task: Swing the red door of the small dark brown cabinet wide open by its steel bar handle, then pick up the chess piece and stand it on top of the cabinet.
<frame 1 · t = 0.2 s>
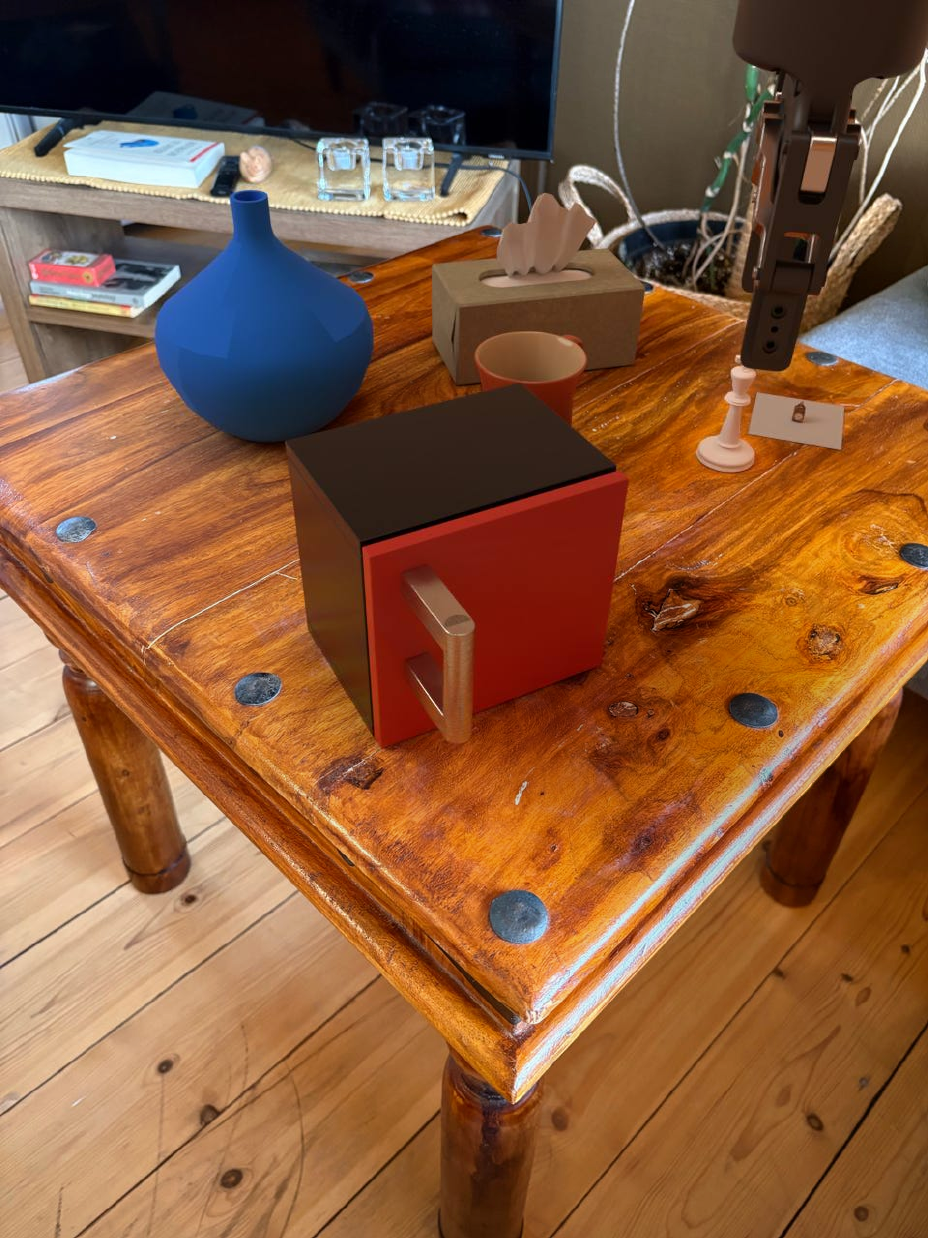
hand: (762, 326, 48), 25 cm above the table, tool pointing down, fingers open, 8 cm apart
dark brown cabinet: (447, 642, 67), on the table
chess piece: (724, 458, 85), on the table
grey square plate: (796, 421, 90), on the table
door: (522, 643, 56), point 7 cm above the table, hinge at 0.0°
mug: (533, 461, 85), on the table
tissue box: (531, 355, 99), on the table
vase: (276, 416, 90), on the table
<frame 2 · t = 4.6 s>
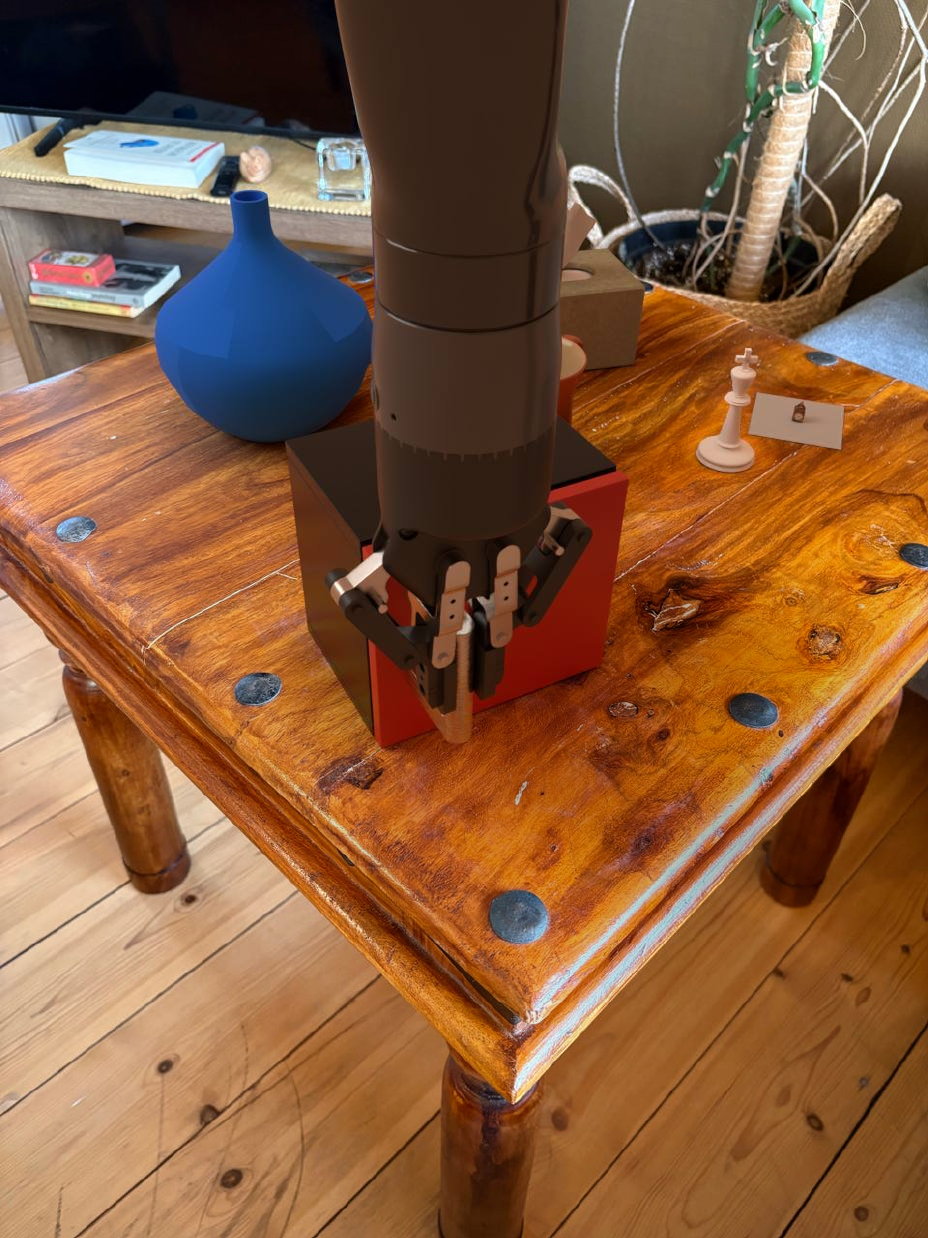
hand: (460, 694, 52), 9 cm above the table, tool pointing down, fingers closed on door
door: (522, 643, 56), point 7 cm above the table, hinge at 0.0°, touching gripper
everything else where it was.
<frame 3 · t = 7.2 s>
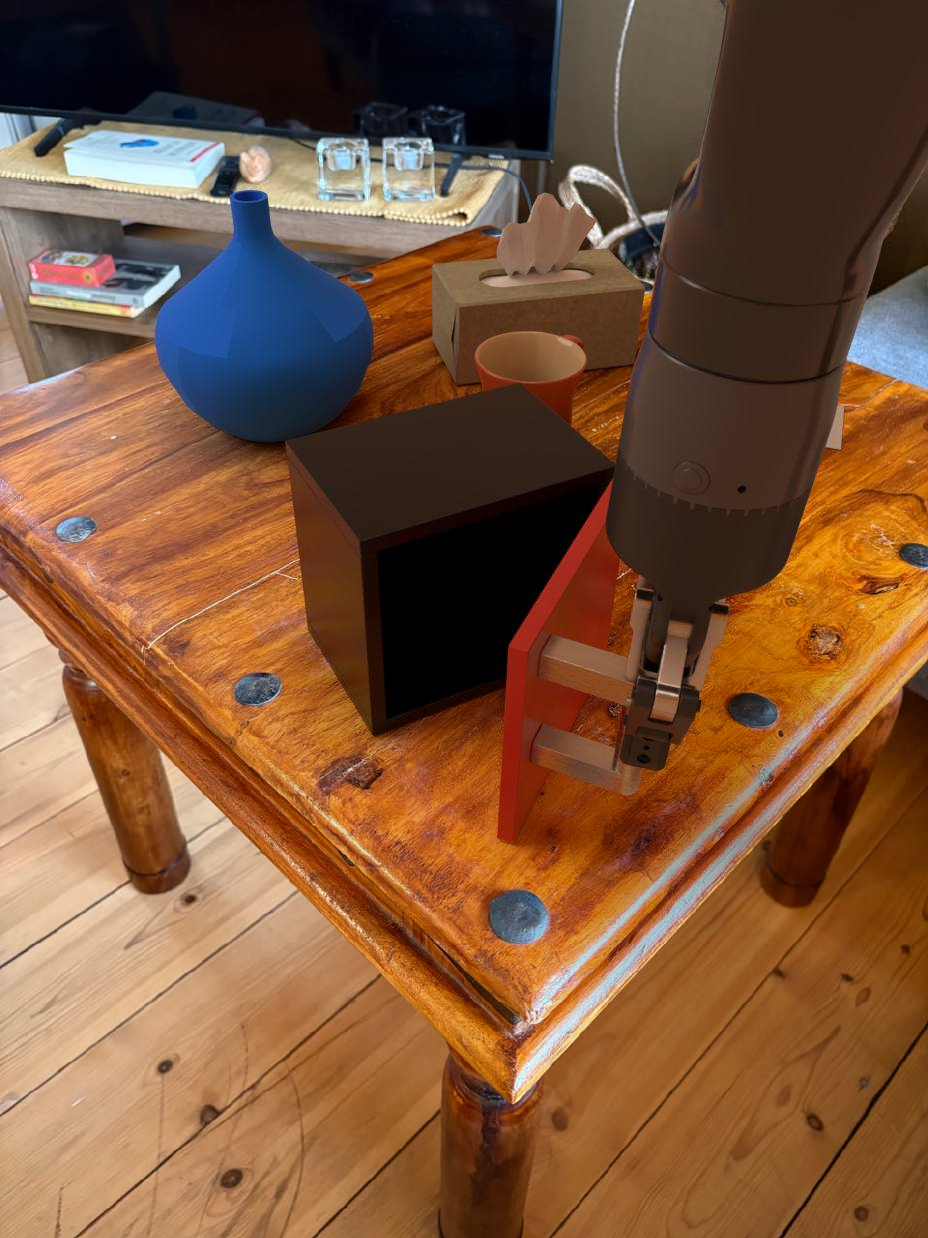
hand: (644, 743, 49), 9 cm above the table, tool pointing down, fingers closed on door, 2 cm apart
door: (614, 671, 55), point 7 cm above the table, hinge at 37.6°, touching gripper
everything else where it was.
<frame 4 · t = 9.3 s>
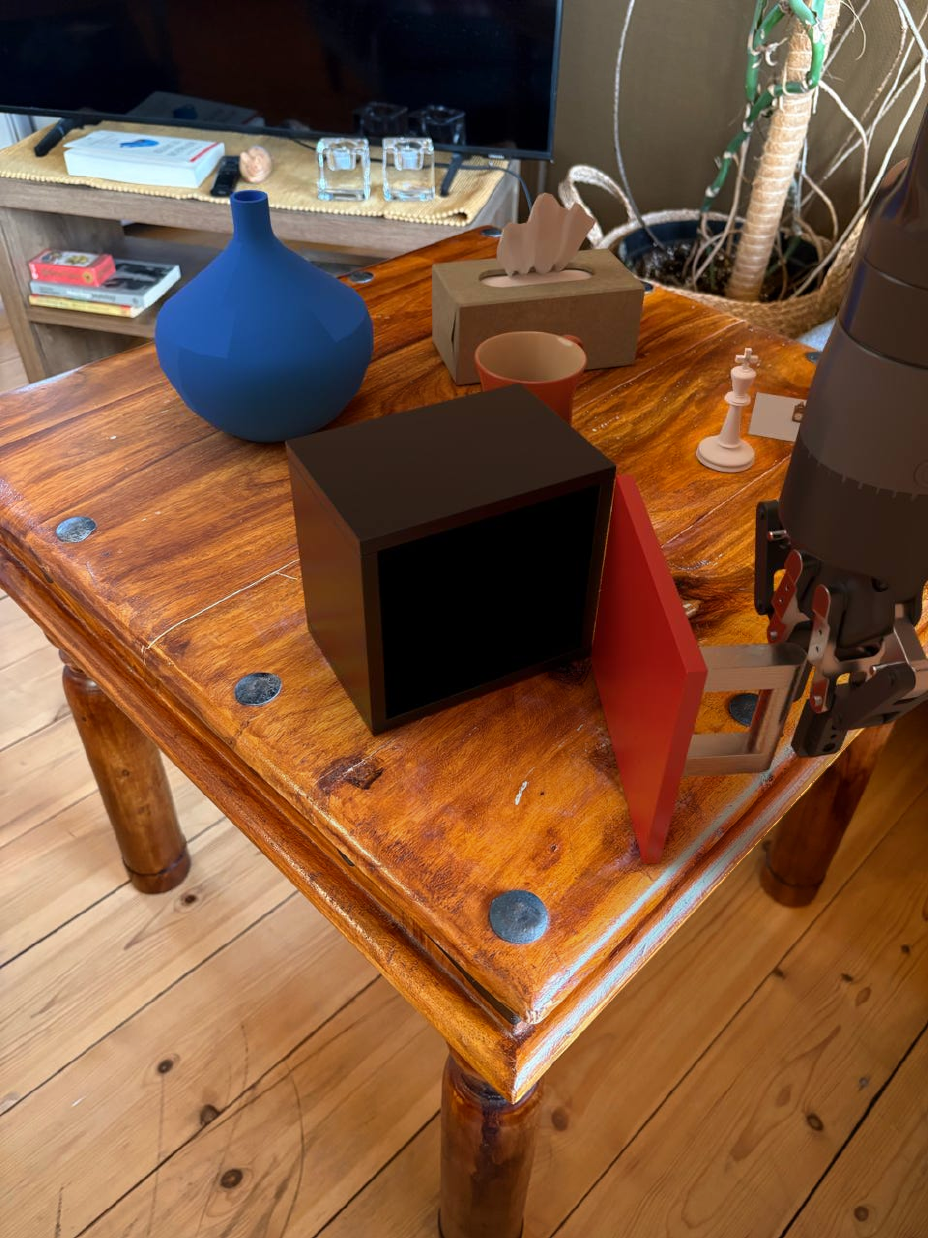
hand: (794, 723, 51), 8 cm above the table, tool pointing down, fingers open, 3 cm apart
door: (688, 662, 55), point 7 cm above the table, hinge at 66.9°
everything else where it was.
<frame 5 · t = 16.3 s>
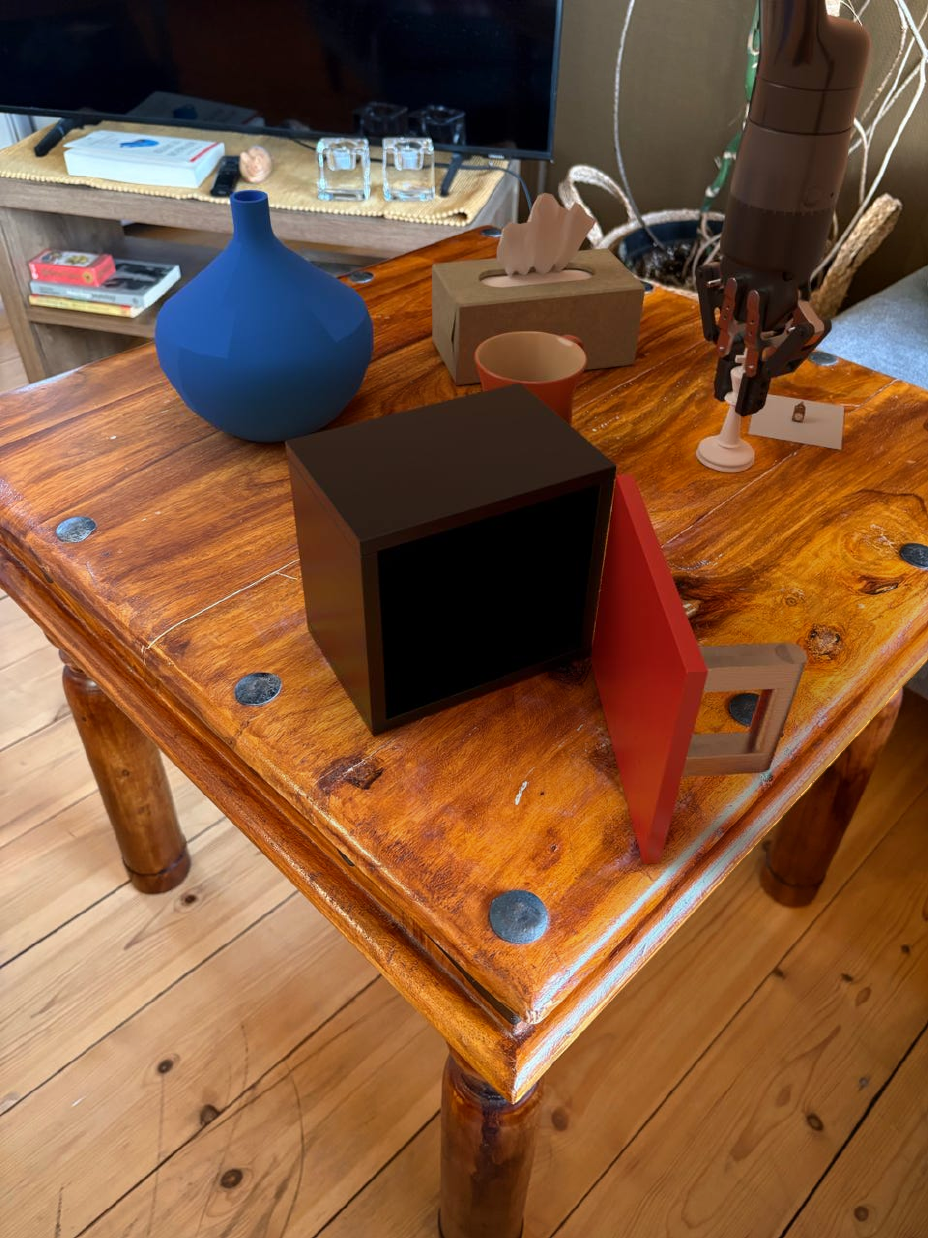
hand: (736, 404, 82), 5 cm above the table, tool pointing down, fingers closed on chess piece
chess piece: (724, 458, 85), on the table, touching gripper
everything else where it was.
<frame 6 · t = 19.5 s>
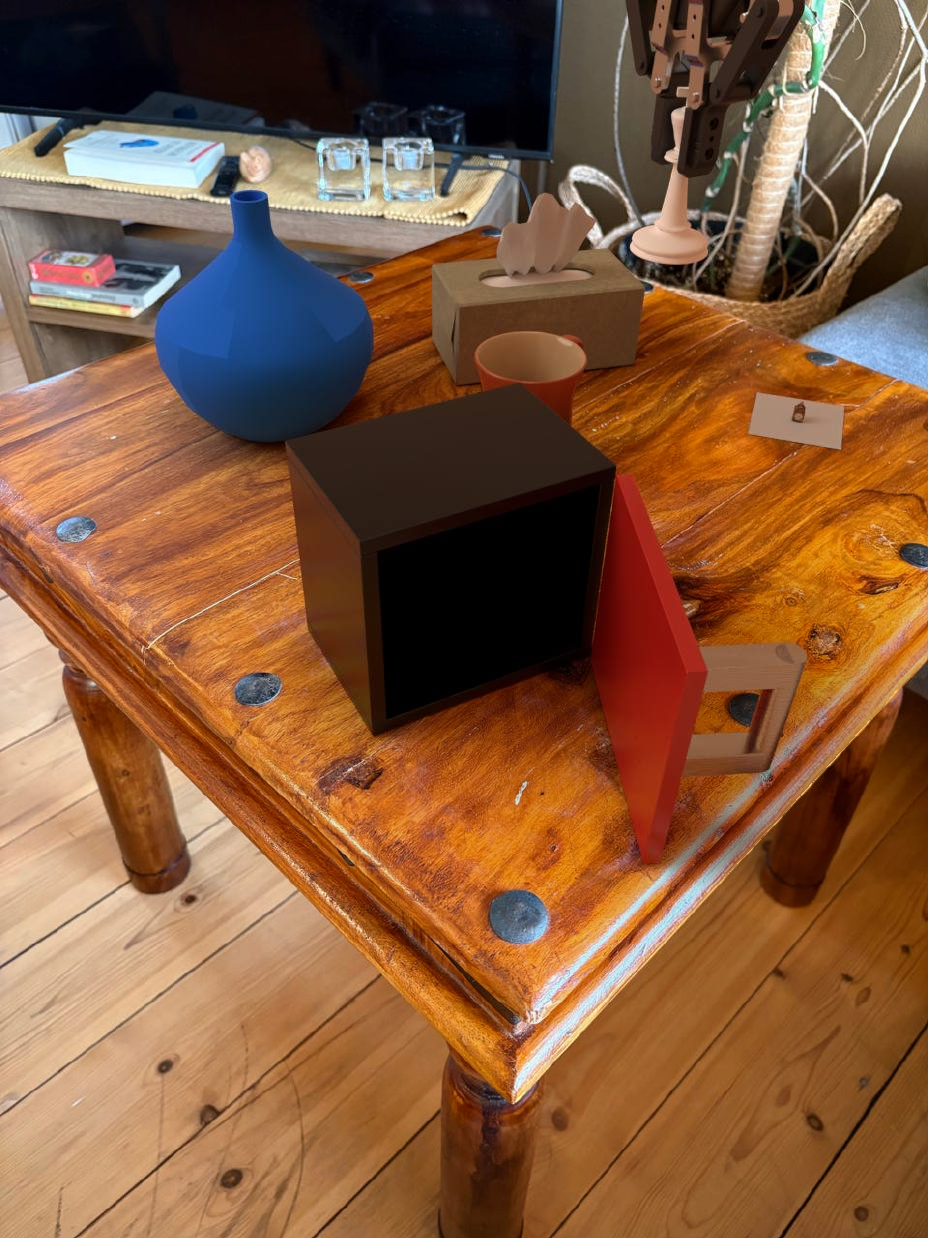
hand: (680, 166, 60), 27 cm above the table, tool pointing down, fingers closed on chess piece
chess piece: (668, 252, 63), point 21 cm above the table, touching gripper
everything else where it was.
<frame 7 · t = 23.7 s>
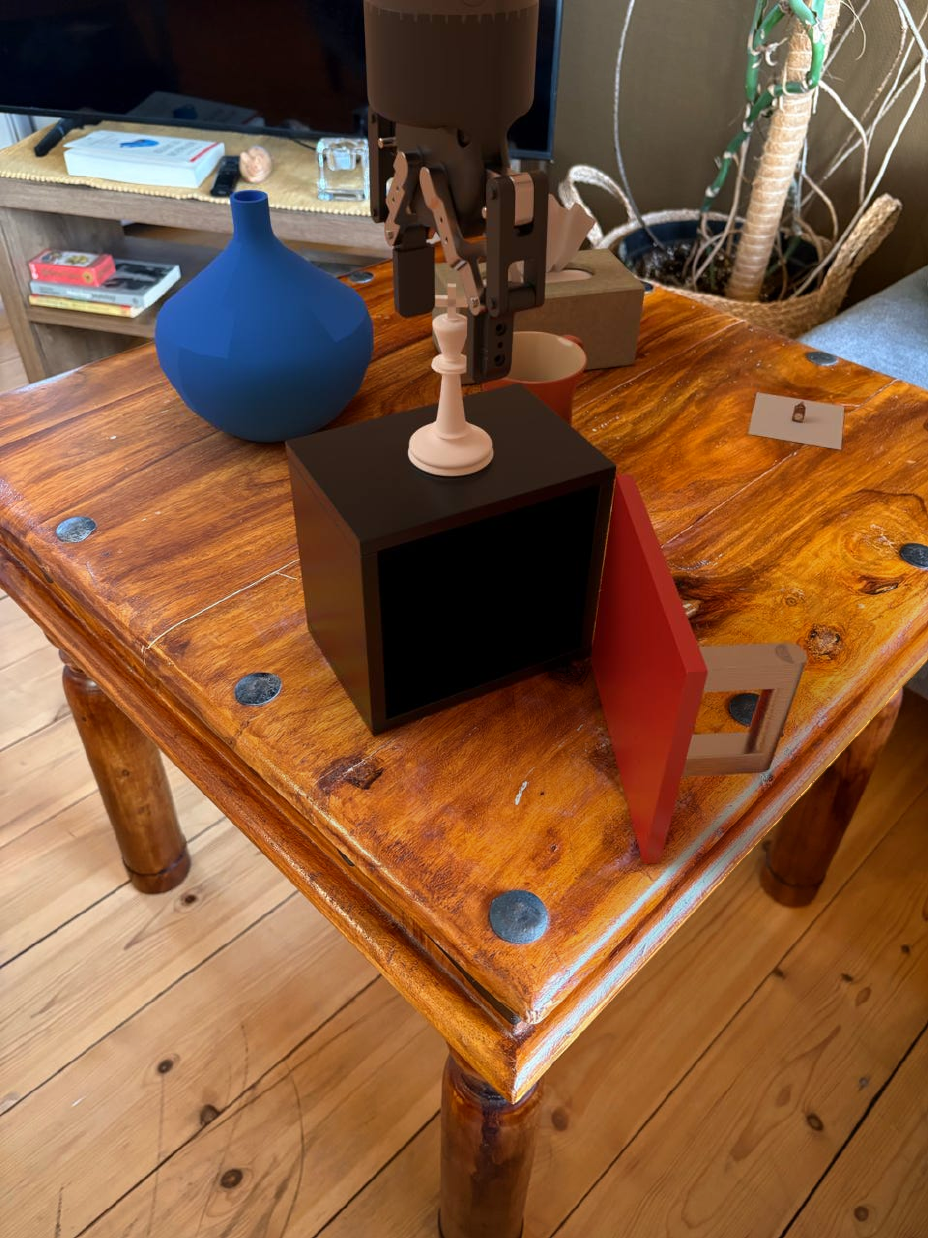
hand: (449, 343, 53), 22 cm above the table, tool pointing down, fingers open, 8 cm apart
chess piece: (450, 456, 57), point 15 cm above the table, touching dark brown cabinet
everything else where it was.
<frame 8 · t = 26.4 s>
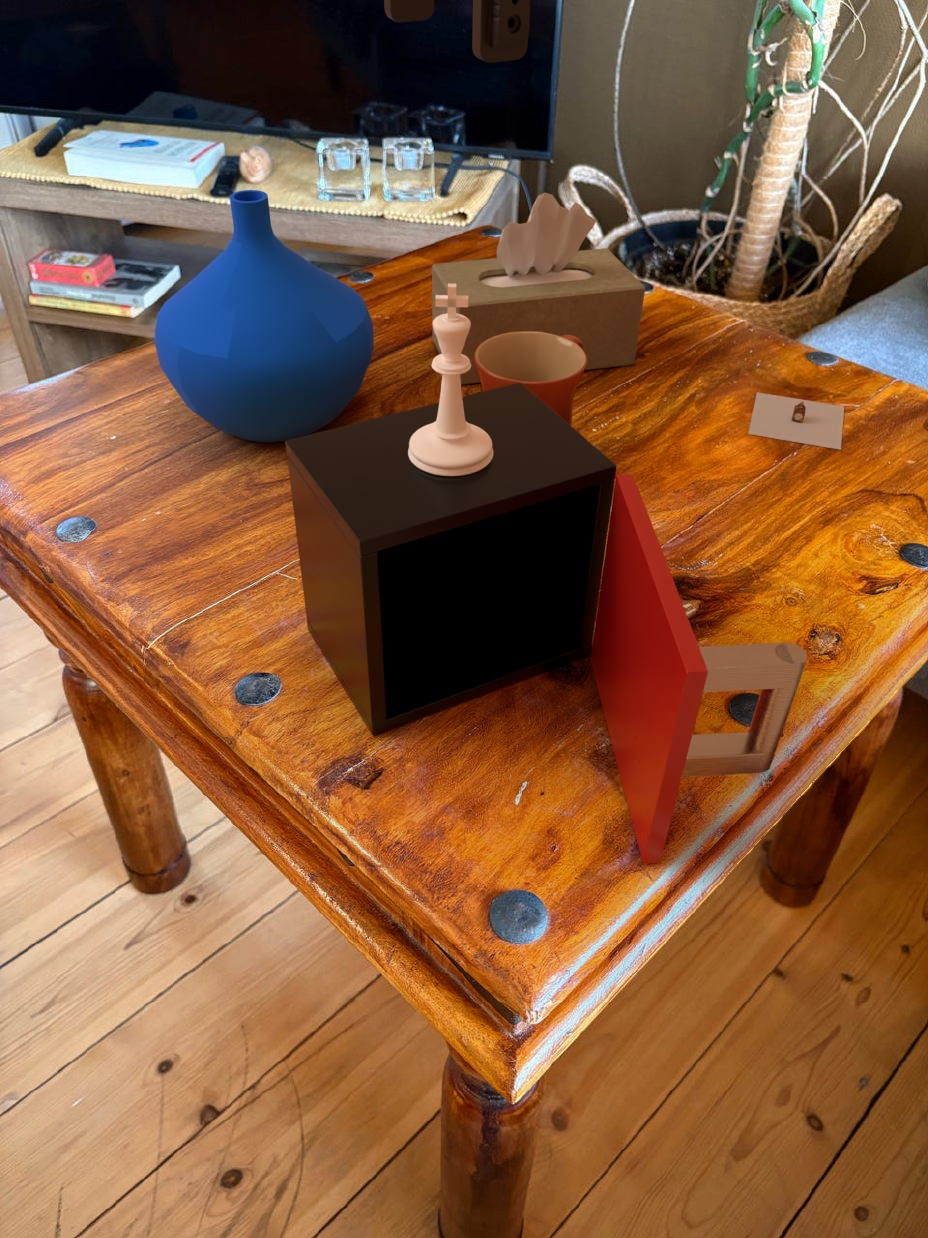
hand: (451, 38, 43), 36 cm above the table, tool pointing down, fingers open, 8 cm apart
nothing on the table moved.
at the end: door at +67° (first picture: +0°); chess piece inside the target area on the dark brown cabinet (0.1 cm from its centre), point 14.8 cm above the dark brown cabinet's base; chess piece tilted 0° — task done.
